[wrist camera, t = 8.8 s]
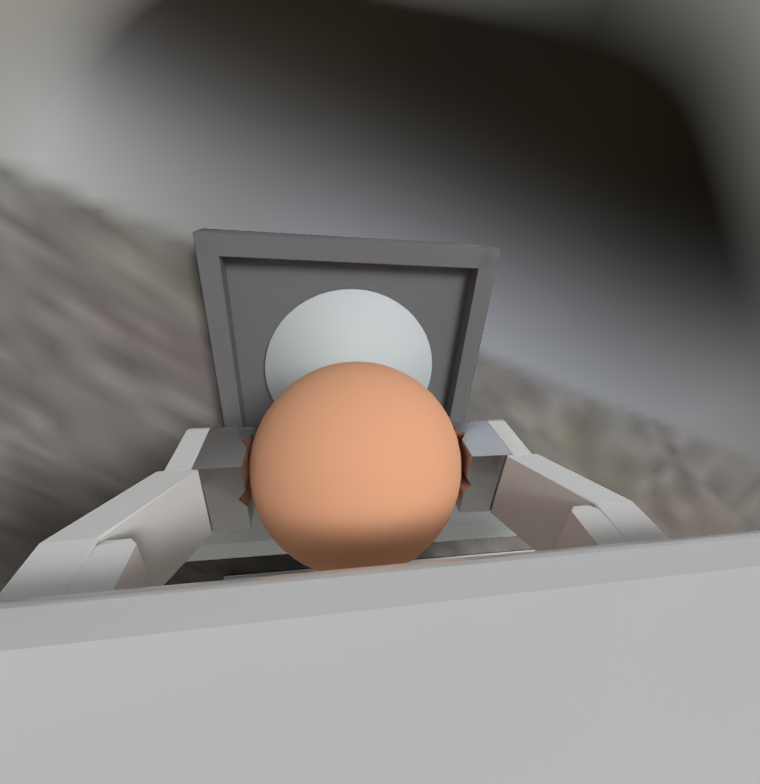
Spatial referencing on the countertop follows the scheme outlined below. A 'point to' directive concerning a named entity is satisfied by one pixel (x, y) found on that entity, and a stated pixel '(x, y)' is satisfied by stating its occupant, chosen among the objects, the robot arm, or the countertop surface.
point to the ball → (355, 467)
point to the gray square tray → (340, 312)
